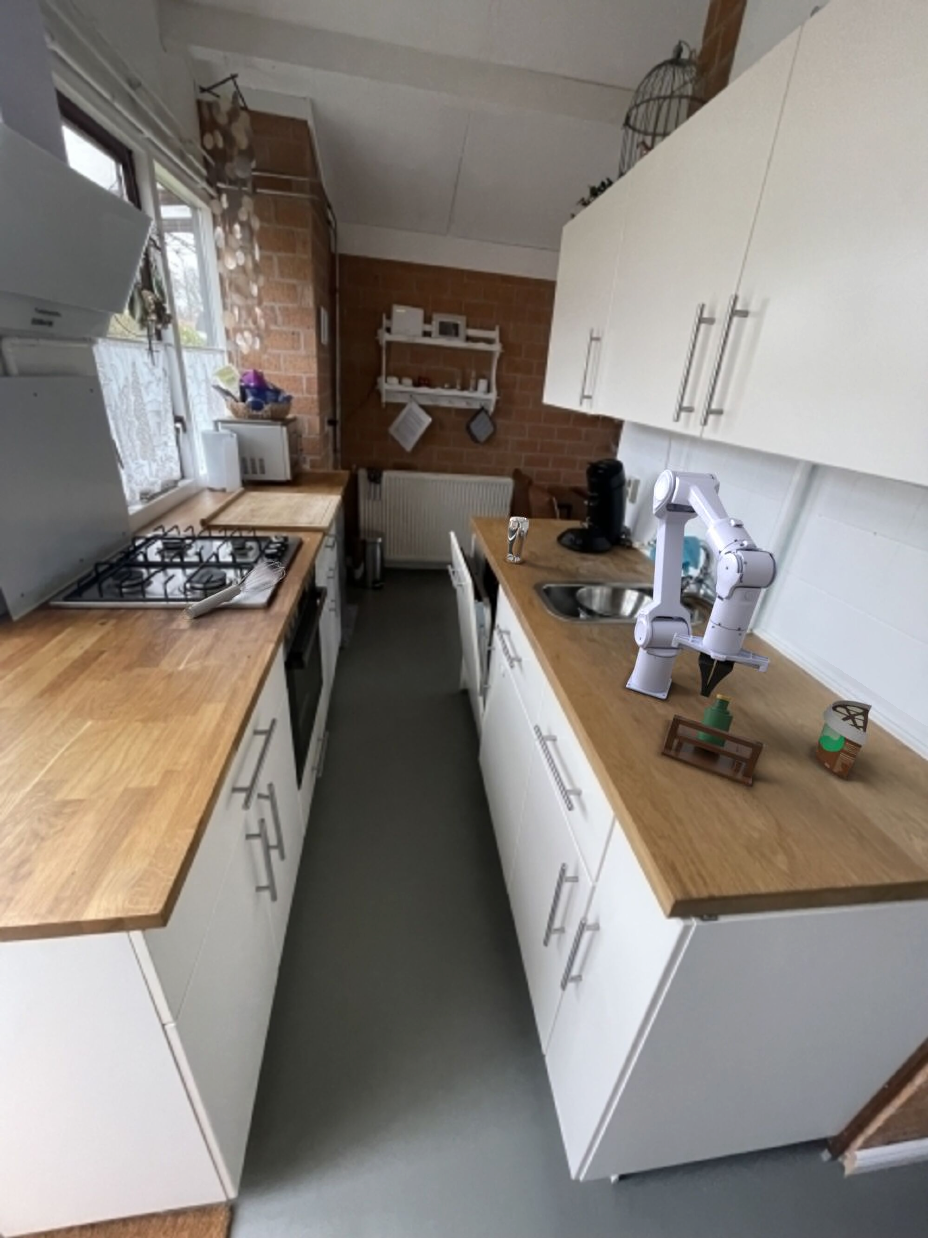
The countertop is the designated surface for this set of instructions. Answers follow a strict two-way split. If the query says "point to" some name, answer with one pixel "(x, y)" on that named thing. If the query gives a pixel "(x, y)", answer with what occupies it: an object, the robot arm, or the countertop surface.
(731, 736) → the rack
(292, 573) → the countertop surface
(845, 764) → the food container
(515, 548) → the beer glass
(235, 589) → the kitchen whisk
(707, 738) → the bottle
